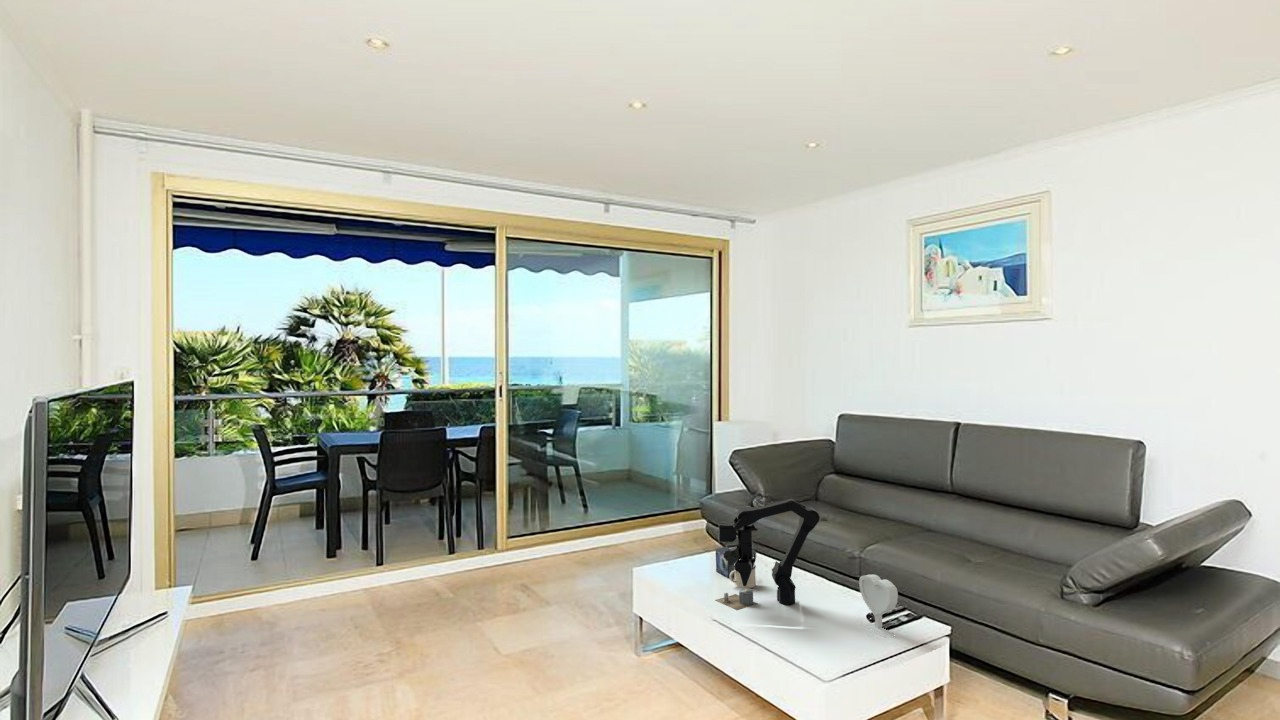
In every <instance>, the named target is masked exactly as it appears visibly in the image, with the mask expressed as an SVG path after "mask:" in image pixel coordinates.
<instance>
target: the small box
mask: <svg viewBox="0 0 1280 720" xmlns="http://www.w3.org/2000/svg"><path fill="white" fill-rule="evenodd" d="M730 548H731V547H728V546H725V547H719V548H715V572H716V573H718V574H720V575H722V577H725V578H727V579H730V577H729V575H730V573H731V572H732V571H734V564H735V563H736V561H737V560H740V559H736V558H733V559H730V560H728V561H726V560H725V558H724V554H723V552H724V551H725V550H727V549H730ZM732 579H735V574H734V573H733V574H732Z"/></svg>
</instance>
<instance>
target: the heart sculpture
mask: <svg viewBox="0 0 1280 720" xmlns="http://www.w3.org/2000/svg"><path fill="white" fill-rule="evenodd" d="M858 583H859V584H858V586H859V592H860V594H861V597H862V600H863V601H864V603H865V604H866V606H867V607H868V609H869V610H870V611H871V613H872V615H873V616H874V623H875V624H872V623H867V622H863V623H862V624H861V626H864V628H867V629H868V630H871V631H873V632H874V633H876V634H878V635H879V636H882V637H884V638H894V637H895V636H897V634H896V633H894V632H892V631H890V630H888V629H887V630H886V628H885V627H883V614H886V613H889V612H891V611H893V610H894V609H895V607H896V606H897V604H898V599H899V598H898V596H899V593H898V588H897V587H896V585H894V584H893V582H892V581H890V580H888V579H881V577H880V576H879V575H878V574H866V575H861V576H860V577H859V580H858ZM882 627H883V628H882ZM884 628H885V629H884ZM894 635H895V636H894Z"/></svg>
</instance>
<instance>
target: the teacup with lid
mask: <svg viewBox="0 0 1280 720" xmlns="http://www.w3.org/2000/svg"><path fill="white" fill-rule="evenodd" d="M734 565H735V564H734ZM756 567H757V565H756V564H755V563H754V566H753V568H752V571H751V574H750V577H749V579H748V582H747V585H746V586H743V583H742V579H741V576H740V573H739V572H738V571H736V570H735V567H734V571H732V572H731V573H730V575H729V577H730V578H729V580H730V581H731V582H732V583H734V586H736V587H738V588H740V589H742V588H750V589H752V588H753V587H755V586H757V585H756V584H757V583H756ZM733 573H734V574H735V577H734V578H732V574H733ZM733 579H734V580H733Z"/></svg>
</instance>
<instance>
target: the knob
mask: <svg viewBox="0 0 1280 720" xmlns="http://www.w3.org/2000/svg"><path fill="white" fill-rule="evenodd" d="M738 590H739V592H738V593H739V594H738V595H739V603H740V604H742V605H752V604H753V602H754V590H753V589H752V588H740V589H738Z"/></svg>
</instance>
